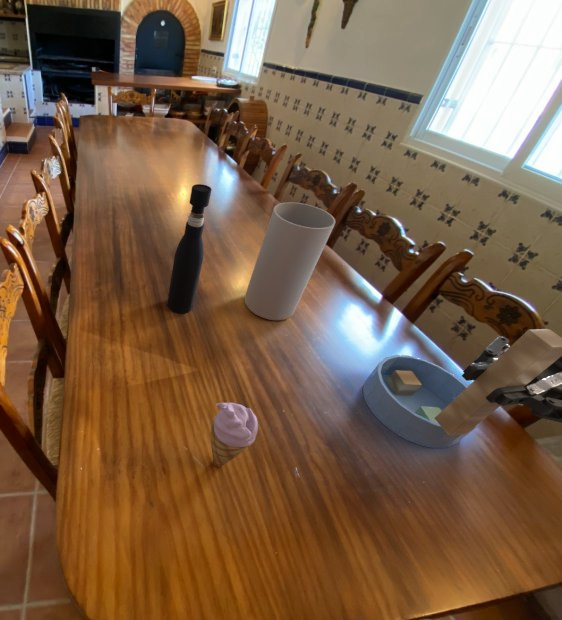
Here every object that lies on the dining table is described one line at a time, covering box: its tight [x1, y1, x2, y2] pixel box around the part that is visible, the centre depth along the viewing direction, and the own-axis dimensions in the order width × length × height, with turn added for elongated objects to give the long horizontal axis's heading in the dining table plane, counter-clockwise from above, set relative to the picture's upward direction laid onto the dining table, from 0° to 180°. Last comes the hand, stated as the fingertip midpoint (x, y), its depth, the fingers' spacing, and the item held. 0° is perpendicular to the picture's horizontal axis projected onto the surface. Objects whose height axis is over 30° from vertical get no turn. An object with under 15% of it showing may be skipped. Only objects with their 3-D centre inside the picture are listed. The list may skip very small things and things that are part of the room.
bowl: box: [362, 354, 481, 449], centre depth 68 cm, size 17×17×6 cm
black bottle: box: [166, 183, 212, 315], centre depth 79 cm, size 6×6×30 cm
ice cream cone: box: [210, 402, 259, 468], centre depth 54 cm, size 7×6×15 cm
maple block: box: [387, 370, 422, 396], centre depth 71 cm, size 4×4×4 cm
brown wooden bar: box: [435, 328, 562, 435], centre depth 46 cm, size 3×3×18 cm
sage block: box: [415, 407, 442, 424], centre depth 65 cm, size 4×4×4 cm
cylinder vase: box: [243, 201, 336, 321], centre depth 83 cm, size 12×12×25 cm
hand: (480, 384), depth 45 cm, fingers closed on brown wooden bar, 3 cm apart
